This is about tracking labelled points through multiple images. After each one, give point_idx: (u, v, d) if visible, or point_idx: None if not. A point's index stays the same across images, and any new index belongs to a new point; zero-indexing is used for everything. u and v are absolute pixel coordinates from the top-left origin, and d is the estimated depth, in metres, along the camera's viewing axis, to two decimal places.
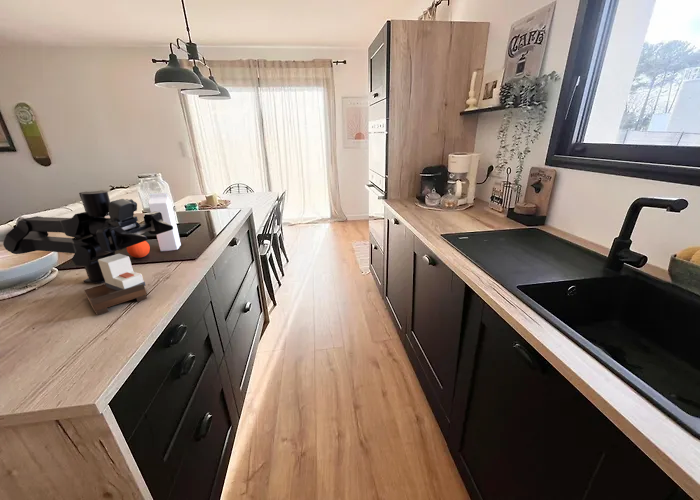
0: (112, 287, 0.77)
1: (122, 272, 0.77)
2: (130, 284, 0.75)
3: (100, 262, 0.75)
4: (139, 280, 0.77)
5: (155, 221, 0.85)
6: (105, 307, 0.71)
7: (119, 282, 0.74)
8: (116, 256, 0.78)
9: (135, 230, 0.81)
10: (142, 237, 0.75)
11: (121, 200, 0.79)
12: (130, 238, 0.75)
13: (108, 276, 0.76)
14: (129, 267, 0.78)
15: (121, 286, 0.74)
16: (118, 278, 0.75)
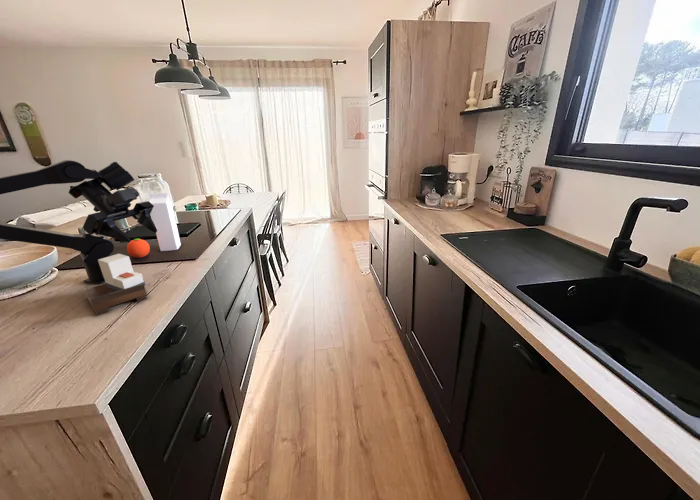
0: (112, 287, 0.77)
1: (122, 272, 0.77)
2: (130, 284, 0.75)
3: (100, 262, 0.75)
4: (139, 280, 0.77)
5: (144, 215, 0.89)
6: (105, 307, 0.71)
7: (119, 282, 0.74)
8: (116, 256, 0.78)
9: (122, 217, 0.84)
10: (126, 239, 0.81)
11: (128, 191, 0.81)
12: (115, 233, 0.80)
13: (108, 276, 0.76)
14: (129, 267, 0.78)
15: (121, 286, 0.74)
16: (118, 278, 0.75)
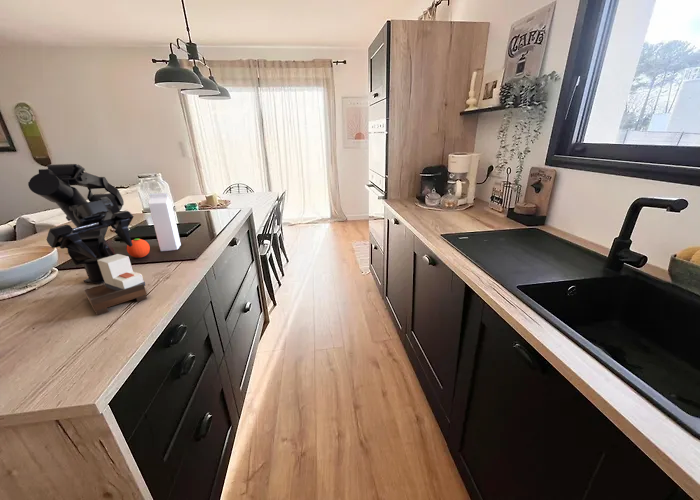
0: (111, 287, 0.76)
1: (122, 272, 0.77)
2: (130, 284, 0.75)
3: (99, 262, 0.75)
4: (139, 280, 0.77)
5: (120, 227, 0.82)
6: (105, 307, 0.71)
7: (119, 282, 0.74)
8: (115, 256, 0.77)
9: (94, 229, 0.78)
10: (92, 255, 0.75)
11: (98, 203, 0.74)
12: (80, 248, 0.74)
13: (108, 276, 0.75)
14: (129, 267, 0.78)
15: (121, 286, 0.74)
16: (118, 278, 0.75)
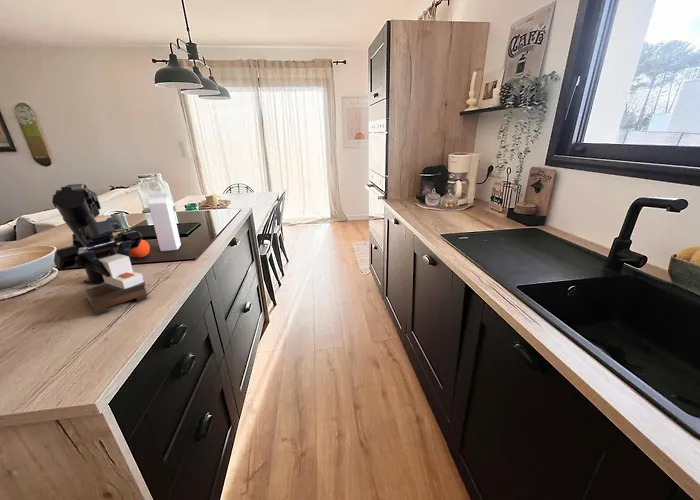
0: (111, 287, 0.76)
1: (122, 272, 0.77)
2: (130, 284, 0.75)
3: None
4: (139, 280, 0.77)
5: (121, 249, 0.79)
6: (105, 307, 0.71)
7: (119, 282, 0.74)
8: (116, 256, 0.77)
9: (102, 250, 0.77)
10: (106, 273, 0.75)
11: (104, 223, 0.74)
12: (95, 266, 0.74)
13: None
14: (129, 267, 0.78)
15: (121, 286, 0.74)
16: (118, 278, 0.75)
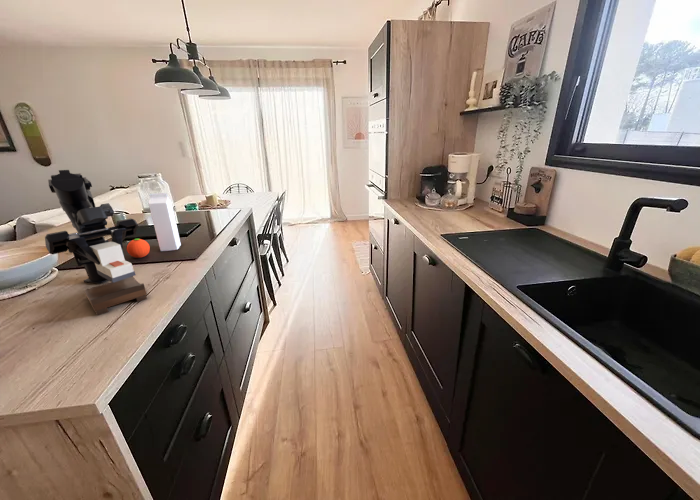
0: (102, 274, 0.75)
1: (112, 260, 0.75)
2: (119, 273, 0.73)
3: (91, 249, 0.74)
4: (129, 269, 0.75)
5: (114, 237, 0.78)
6: (105, 307, 0.71)
7: (107, 270, 0.72)
8: (108, 244, 0.76)
9: (95, 236, 0.76)
10: (96, 261, 0.73)
11: (96, 209, 0.72)
12: (86, 253, 0.73)
13: (99, 264, 0.74)
14: (120, 255, 0.76)
15: (110, 275, 0.73)
16: (107, 266, 0.73)
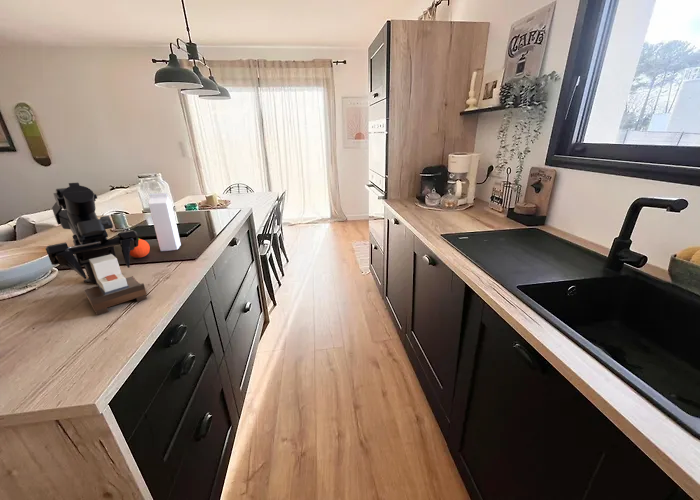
0: (99, 287, 0.76)
1: (109, 274, 0.76)
2: (112, 287, 0.74)
3: (90, 262, 0.75)
4: (122, 284, 0.75)
5: (122, 247, 0.80)
6: (105, 307, 0.71)
7: (101, 284, 0.73)
8: (106, 257, 0.77)
9: (96, 248, 0.77)
10: (83, 275, 0.73)
11: (93, 222, 0.73)
12: (74, 267, 0.73)
13: (96, 277, 0.75)
14: (117, 269, 0.77)
15: (103, 289, 0.73)
16: (102, 280, 0.74)
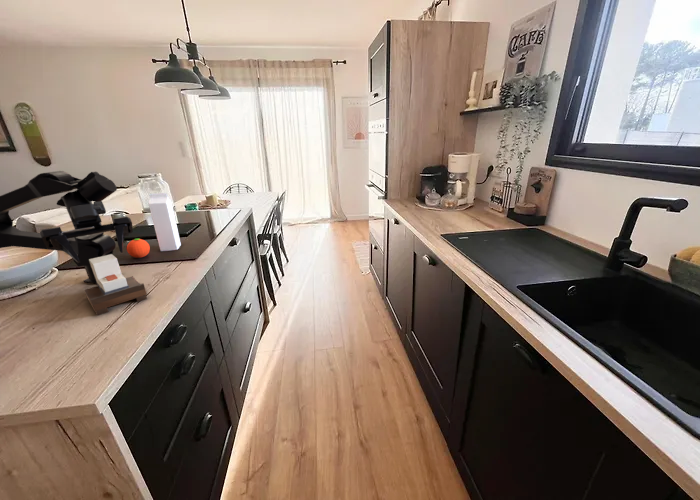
0: (99, 287, 0.76)
1: (109, 274, 0.76)
2: (112, 287, 0.74)
3: (90, 262, 0.75)
4: (122, 284, 0.75)
5: None
6: (105, 307, 0.71)
7: (101, 284, 0.73)
8: (106, 257, 0.77)
9: (90, 233, 0.79)
10: (76, 259, 0.74)
11: (86, 207, 0.74)
12: (67, 251, 0.74)
13: (96, 277, 0.75)
14: (117, 269, 0.77)
15: (103, 289, 0.73)
16: (102, 280, 0.74)
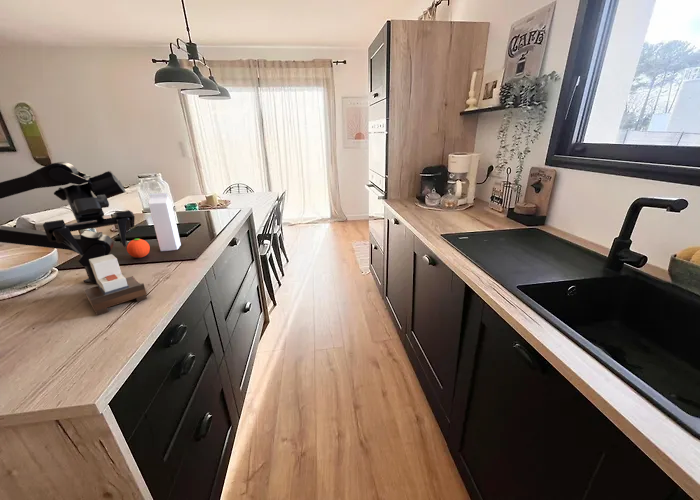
0: (99, 287, 0.76)
1: (109, 274, 0.76)
2: (112, 287, 0.74)
3: (90, 262, 0.75)
4: (122, 284, 0.75)
5: (118, 226, 0.81)
6: (105, 307, 0.71)
7: (101, 284, 0.73)
8: (106, 257, 0.77)
9: (92, 226, 0.79)
10: (79, 252, 0.74)
11: (90, 200, 0.74)
12: (71, 244, 0.74)
13: (96, 277, 0.75)
14: (117, 269, 0.77)
15: (103, 289, 0.73)
16: (102, 280, 0.74)
